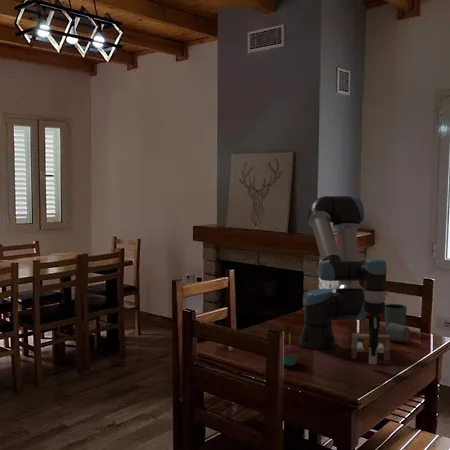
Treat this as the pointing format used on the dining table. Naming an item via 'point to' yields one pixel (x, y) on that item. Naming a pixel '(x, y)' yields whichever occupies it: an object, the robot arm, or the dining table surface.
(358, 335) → the bridge
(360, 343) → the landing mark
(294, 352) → the cupcake
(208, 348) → the dining table surface
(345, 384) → the dining table surface
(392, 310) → the grey green cup
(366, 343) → the ball
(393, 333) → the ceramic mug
